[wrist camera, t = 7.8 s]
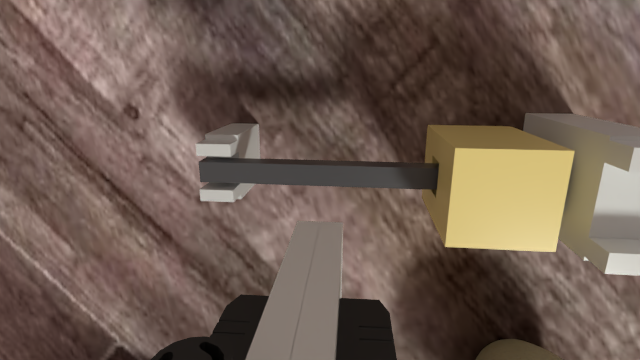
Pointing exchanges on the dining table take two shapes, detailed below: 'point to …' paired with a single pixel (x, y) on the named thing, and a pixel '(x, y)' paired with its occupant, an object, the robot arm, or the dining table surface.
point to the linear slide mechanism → (563, 129)
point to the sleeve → (496, 187)
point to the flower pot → (515, 351)
